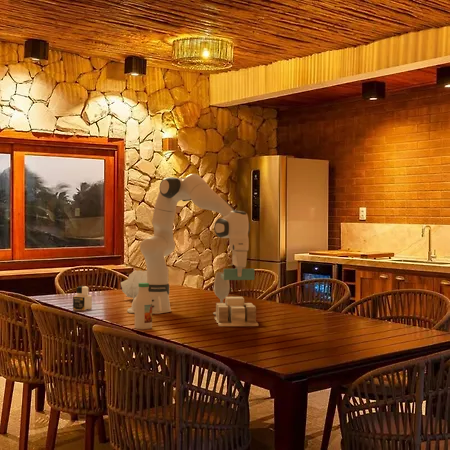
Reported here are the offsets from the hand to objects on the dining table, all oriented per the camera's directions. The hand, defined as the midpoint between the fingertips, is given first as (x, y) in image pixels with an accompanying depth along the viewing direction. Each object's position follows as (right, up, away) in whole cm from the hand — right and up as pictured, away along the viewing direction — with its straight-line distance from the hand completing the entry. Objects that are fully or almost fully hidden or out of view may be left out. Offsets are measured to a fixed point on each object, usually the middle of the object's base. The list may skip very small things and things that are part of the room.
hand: (238, 276), depth 307 cm
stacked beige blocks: (-1, -22, +8) cm, 24 cm away
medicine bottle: (-81, -21, +45) cm, 95 cm away
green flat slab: (-1, -2, +6) cm, 6 cm away
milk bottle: (-42, -22, -10) cm, 49 cm away
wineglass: (-8, -22, +32) cm, 40 cm away
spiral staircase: (-53, -21, +80) cm, 98 cm away
